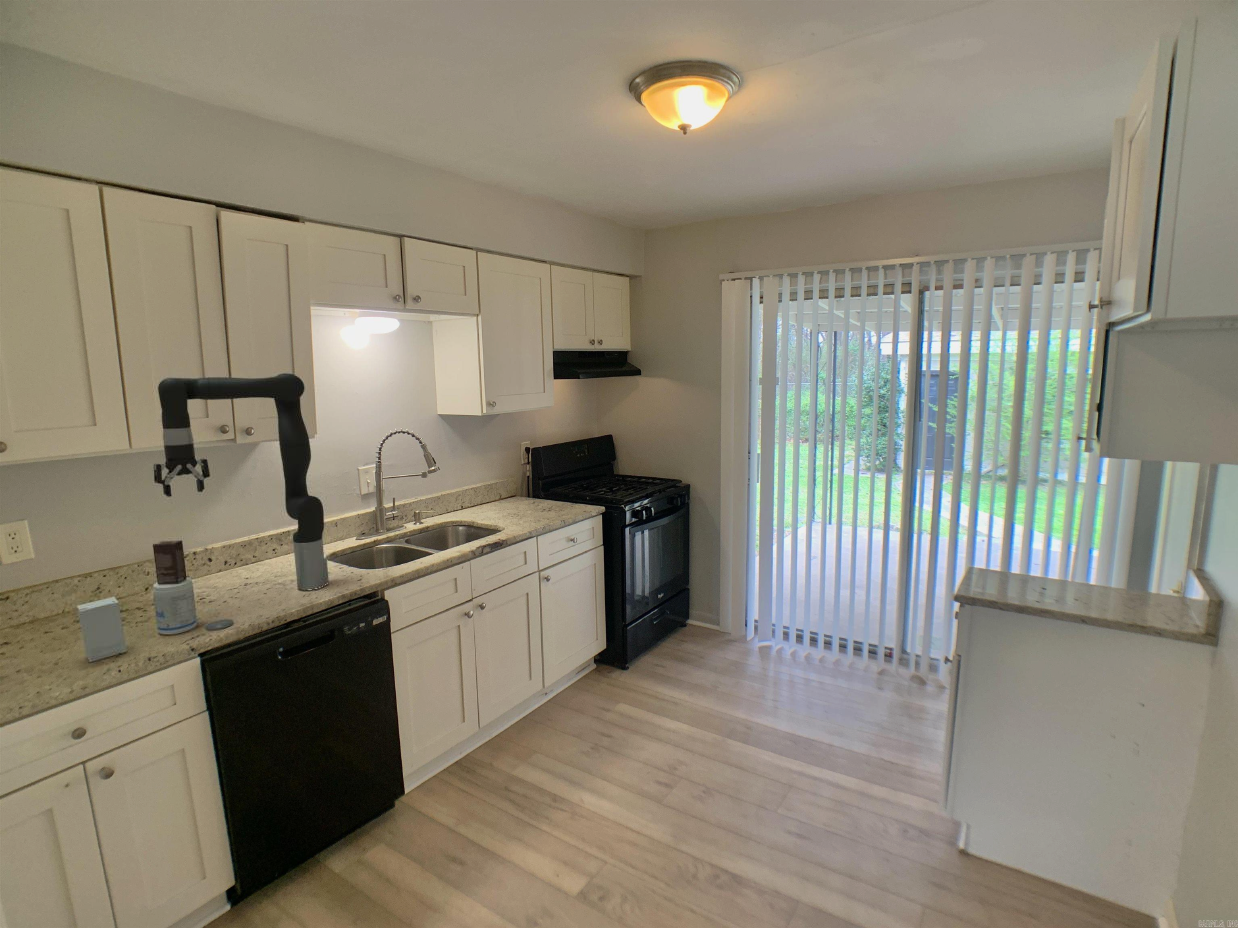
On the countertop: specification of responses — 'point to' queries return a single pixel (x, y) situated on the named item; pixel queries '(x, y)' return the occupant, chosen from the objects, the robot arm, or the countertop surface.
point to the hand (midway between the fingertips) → (184, 494)
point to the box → (169, 562)
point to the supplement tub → (174, 607)
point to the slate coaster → (219, 624)
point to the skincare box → (102, 628)
